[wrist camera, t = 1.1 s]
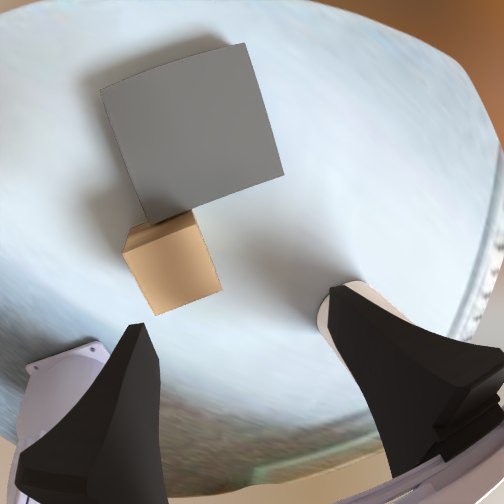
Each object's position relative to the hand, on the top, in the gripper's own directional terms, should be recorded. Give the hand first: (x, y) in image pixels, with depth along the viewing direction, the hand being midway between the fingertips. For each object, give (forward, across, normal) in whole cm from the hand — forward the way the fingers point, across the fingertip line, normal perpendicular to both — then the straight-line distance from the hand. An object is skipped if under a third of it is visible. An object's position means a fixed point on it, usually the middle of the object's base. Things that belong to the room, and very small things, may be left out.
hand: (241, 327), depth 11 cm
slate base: (+12, +1, -6) cm, 13 cm away
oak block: (+11, +3, +1) cm, 12 cm away
